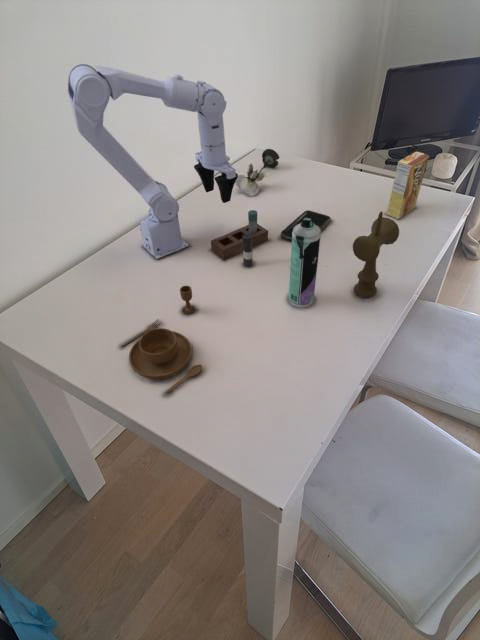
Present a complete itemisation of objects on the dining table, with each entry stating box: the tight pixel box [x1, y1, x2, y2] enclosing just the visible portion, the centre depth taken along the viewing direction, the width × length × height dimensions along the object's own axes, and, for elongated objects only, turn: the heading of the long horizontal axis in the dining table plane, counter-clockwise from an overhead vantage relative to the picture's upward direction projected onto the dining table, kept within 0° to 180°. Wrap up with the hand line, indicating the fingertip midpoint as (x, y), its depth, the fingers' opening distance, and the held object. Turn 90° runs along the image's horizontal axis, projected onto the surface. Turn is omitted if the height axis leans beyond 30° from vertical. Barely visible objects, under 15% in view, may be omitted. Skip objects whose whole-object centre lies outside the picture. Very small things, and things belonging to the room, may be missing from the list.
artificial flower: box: [234, 148, 280, 197], centre depth 136 cm, size 9×22×10 cm, turn 149°
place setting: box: [120, 285, 203, 395], centre depth 83 cm, size 18×20×6 cm
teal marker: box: [247, 209, 258, 234], centre depth 111 cm, size 2×2×8 cm
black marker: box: [242, 234, 254, 268], centre depth 103 cm, size 2×2×8 cm
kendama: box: [352, 211, 400, 299], centre depth 89 cm, size 6×10×20 cm, turn 140°
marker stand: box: [210, 223, 269, 261], centre depth 110 cm, size 14×6×3 cm, turn 126°
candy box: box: [386, 151, 430, 220], centre depth 116 cm, size 9×4×15 cm, turn 134°
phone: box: [280, 210, 331, 242], centre depth 116 cm, size 8×1×15 cm
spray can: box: [288, 217, 322, 309], centre depth 88 cm, size 6×6×20 cm
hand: (217, 196), depth 110 cm, fingers open, 7 cm apart
